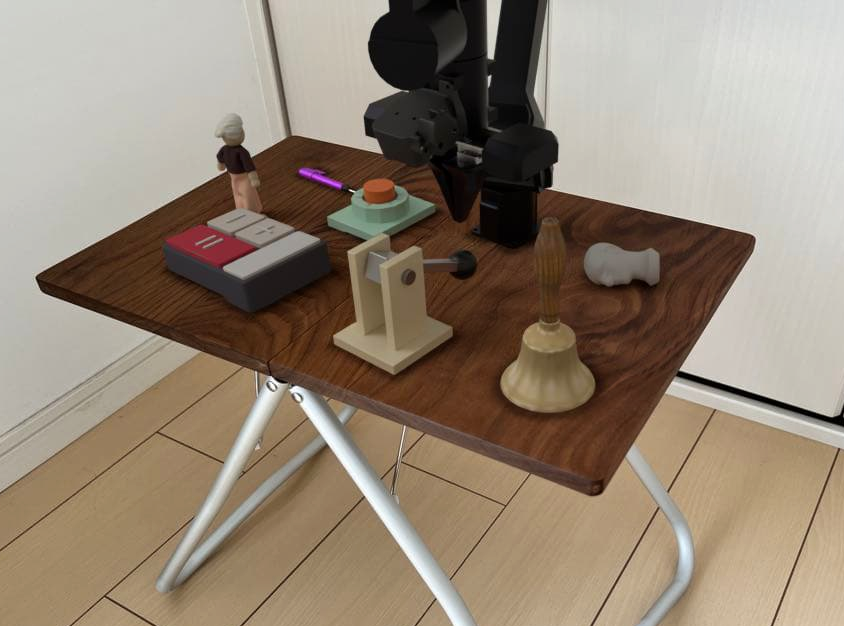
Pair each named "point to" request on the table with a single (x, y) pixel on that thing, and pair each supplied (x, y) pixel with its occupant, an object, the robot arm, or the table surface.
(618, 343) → the table surface
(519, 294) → the table surface
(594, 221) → the table surface
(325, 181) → the purple fountain pen
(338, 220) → the button box
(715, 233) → the table surface
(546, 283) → the hand bell
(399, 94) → the robot arm
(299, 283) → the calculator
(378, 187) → the button
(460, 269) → the lever
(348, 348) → the bracket
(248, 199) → the grandmother figurine
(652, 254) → the smooth white sculpture
